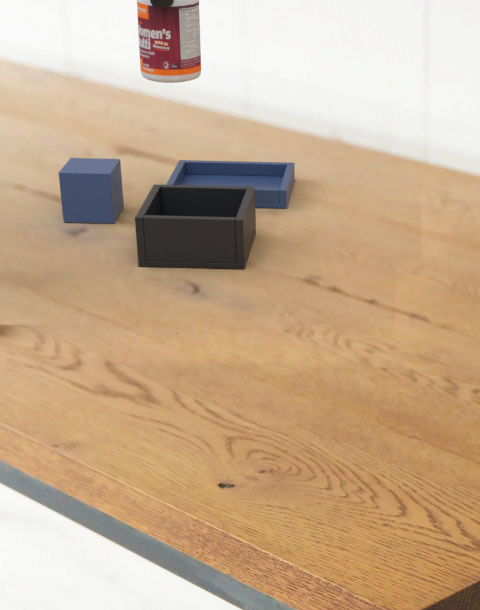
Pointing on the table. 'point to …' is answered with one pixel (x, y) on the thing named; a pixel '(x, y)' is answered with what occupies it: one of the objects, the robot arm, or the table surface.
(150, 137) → the table surface
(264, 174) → the blue tray
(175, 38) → the pill bottle
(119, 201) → the blue block
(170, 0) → the robot arm
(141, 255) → the charcoal bin
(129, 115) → the table surface
